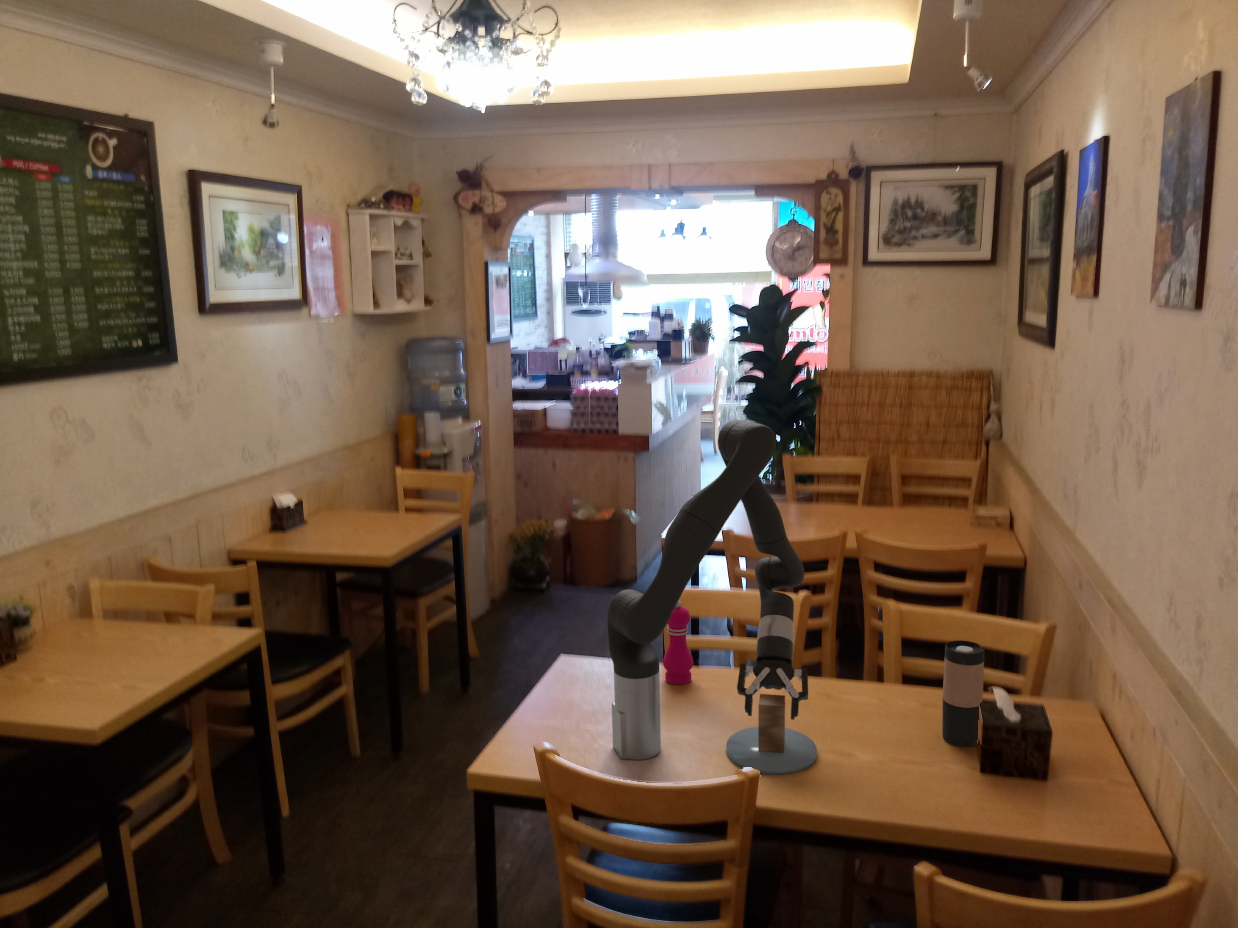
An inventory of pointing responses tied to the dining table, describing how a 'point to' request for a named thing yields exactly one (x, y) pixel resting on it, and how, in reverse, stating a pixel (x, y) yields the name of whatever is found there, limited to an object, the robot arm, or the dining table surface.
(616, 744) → the robot arm
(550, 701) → the dining table surface
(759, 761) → the slate dish
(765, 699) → the walnut block
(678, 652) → the pepper mill
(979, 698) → the travel mug
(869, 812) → the dining table surface
